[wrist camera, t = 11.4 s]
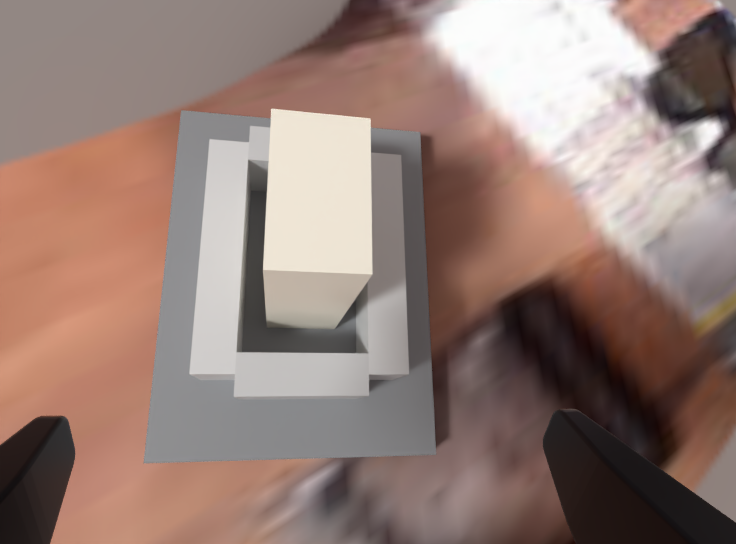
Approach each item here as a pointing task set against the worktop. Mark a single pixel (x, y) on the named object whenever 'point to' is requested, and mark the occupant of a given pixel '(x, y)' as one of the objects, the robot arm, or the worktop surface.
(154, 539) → the worktop surface
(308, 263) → the cream rectangular block
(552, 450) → the robot arm
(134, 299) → the worktop surface
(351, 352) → the hinge base
